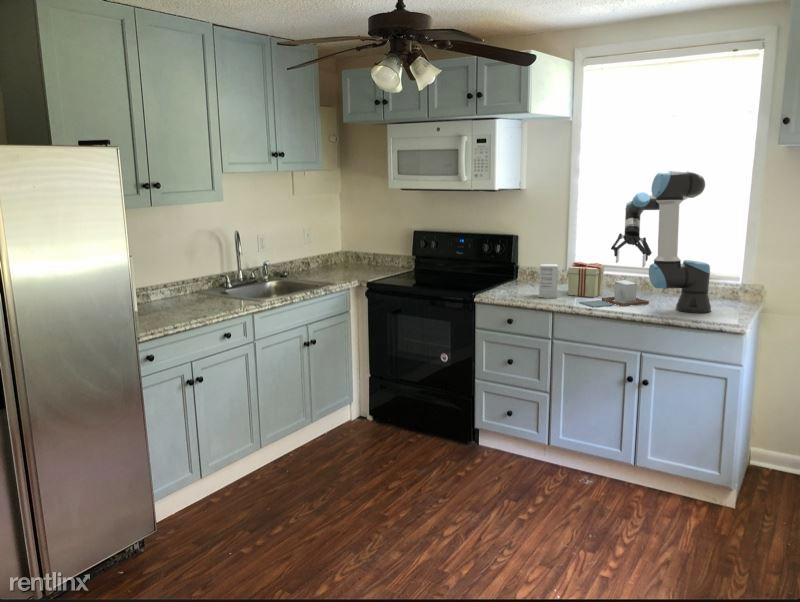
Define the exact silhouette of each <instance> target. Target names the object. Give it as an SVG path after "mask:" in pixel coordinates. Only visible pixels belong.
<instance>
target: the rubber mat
mask: <svg viewBox="0 0 800 602" xmlns="http://www.w3.org/2000/svg"><path fill="white" fill-rule="evenodd" d="M580 303H581V305H583V304H585V305H584V306H587V305H588V306H587V307H590V306H591V307H590V308H593V307H596V308H603V307H602V306H607V307H614V306H615V305H614V304H611V303H608V302H604V301H602V300H600V299H599V300H587V301H585V300H584V301H578V304H580ZM613 305H614V306H613Z"/></svg>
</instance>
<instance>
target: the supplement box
mask: <svg viewBox="0 0 800 602" xmlns="http://www.w3.org/2000/svg"><path fill="white" fill-rule="evenodd" d="M558 274H559V266H558V264H557V263H540V264H539V287H538V289H539V290H538V296H539V297H549V298H548V299H557V298H558V282H559V281H558V280H559V279H558V277H559V275H558ZM539 297H538V298H539Z"/></svg>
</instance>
